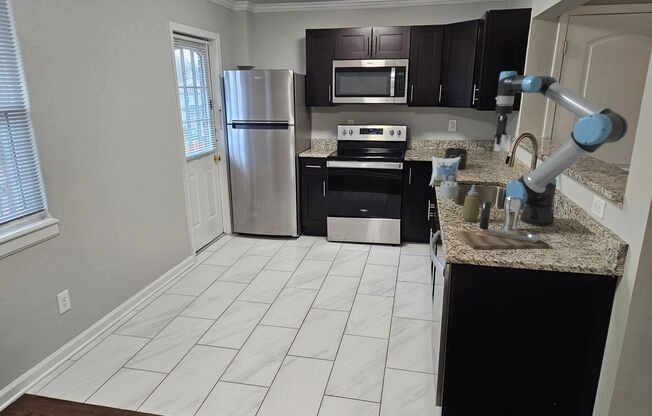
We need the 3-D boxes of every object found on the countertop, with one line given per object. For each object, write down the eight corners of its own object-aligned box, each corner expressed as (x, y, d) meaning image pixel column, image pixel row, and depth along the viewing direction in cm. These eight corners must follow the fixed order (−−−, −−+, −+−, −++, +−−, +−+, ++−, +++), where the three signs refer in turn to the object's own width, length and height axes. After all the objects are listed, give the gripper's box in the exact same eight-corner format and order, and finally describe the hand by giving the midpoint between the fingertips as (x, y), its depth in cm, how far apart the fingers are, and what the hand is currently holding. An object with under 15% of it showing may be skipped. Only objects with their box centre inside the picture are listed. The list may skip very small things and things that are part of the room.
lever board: (522, 232, 192) (523, 228, 191) (548, 247, 173) (549, 244, 172) (455, 233, 189) (455, 229, 189) (473, 249, 170) (474, 245, 170)
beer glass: (498, 228, 197) (501, 197, 193) (510, 226, 199) (513, 195, 196) (510, 232, 191) (512, 200, 187) (521, 230, 193) (524, 198, 189)
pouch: (428, 184, 287) (430, 155, 281) (456, 185, 285) (459, 155, 280) (430, 186, 279) (432, 156, 273) (459, 187, 278) (462, 157, 272)
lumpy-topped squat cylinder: (457, 194, 260) (459, 180, 258) (456, 199, 249) (458, 184, 246) (440, 192, 264) (441, 179, 261) (438, 197, 252) (440, 183, 249)
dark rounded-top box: (460, 171, 335) (462, 151, 331) (439, 167, 347) (441, 148, 343) (470, 168, 348) (472, 149, 344) (450, 165, 360) (452, 147, 355)
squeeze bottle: (465, 216, 214) (469, 182, 209) (480, 220, 209) (485, 184, 204) (458, 220, 208) (462, 184, 203) (474, 223, 203) (479, 187, 198)
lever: (540, 240, 176) (545, 208, 172) (538, 244, 172) (544, 211, 168) (480, 230, 188) (483, 199, 184) (477, 233, 184) (481, 202, 180)
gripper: (499, 104, 213) (494, 146, 219) (492, 105, 192) (487, 151, 198) (515, 104, 210) (509, 147, 216) (510, 106, 189) (504, 153, 195)
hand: (498, 149), depth 207 cm, fingers open, 13 cm apart
